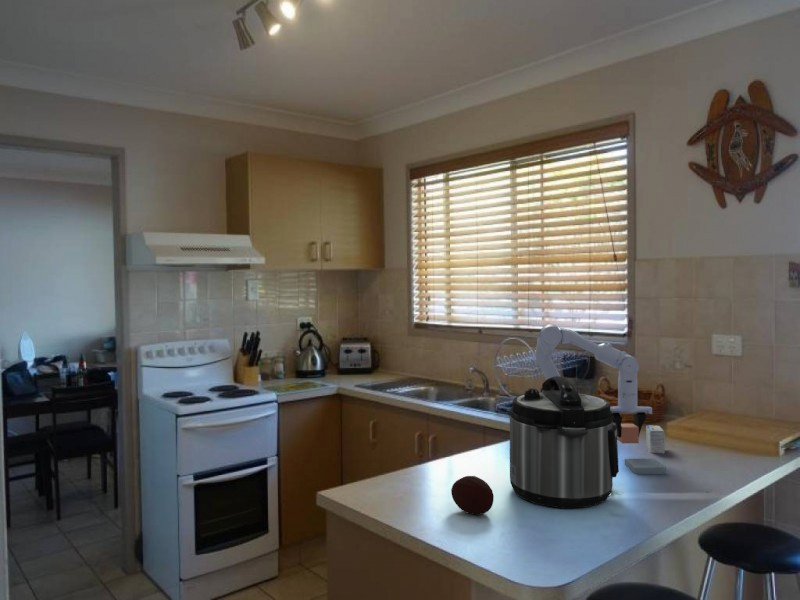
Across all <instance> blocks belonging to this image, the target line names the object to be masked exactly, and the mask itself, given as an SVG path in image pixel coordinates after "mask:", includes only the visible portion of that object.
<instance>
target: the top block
mask: <svg viewBox="0 0 800 600" xmlns="http://www.w3.org/2000/svg"><path fill="white" fill-rule="evenodd" d="M624 466H625V467H626V468H628V470H630V471H631V472H632V473H633V474H634V475H659V474H660V475H666V474H667V466H666V465H664V464H663V463H661V461H659V460H657V459H656V458H624Z"/></svg>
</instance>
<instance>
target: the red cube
mask: <svg viewBox="0 0 800 600" xmlns="http://www.w3.org/2000/svg"><path fill="white" fill-rule="evenodd" d="M639 438H640V434H639V427H637V426H636V425H634V423H621V437H618V436H617V441H618V442H620V444H639Z"/></svg>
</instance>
